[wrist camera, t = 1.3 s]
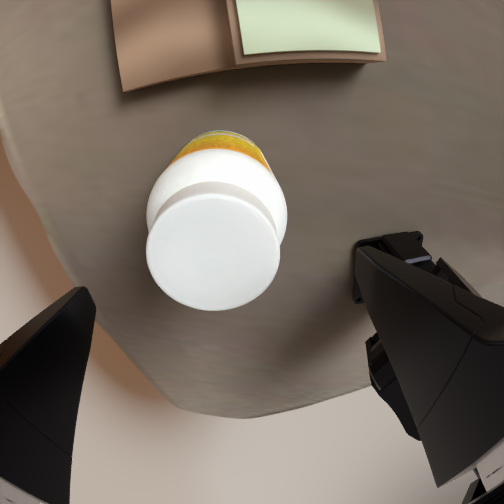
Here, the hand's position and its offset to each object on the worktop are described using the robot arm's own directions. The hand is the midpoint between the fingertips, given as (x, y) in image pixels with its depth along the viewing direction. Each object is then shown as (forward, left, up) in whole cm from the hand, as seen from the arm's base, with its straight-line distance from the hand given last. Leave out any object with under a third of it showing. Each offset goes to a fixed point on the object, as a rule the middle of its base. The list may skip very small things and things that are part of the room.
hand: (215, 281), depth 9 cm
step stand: (+12, -3, -13) cm, 18 cm away
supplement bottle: (0, 0, -13) cm, 13 cm away
